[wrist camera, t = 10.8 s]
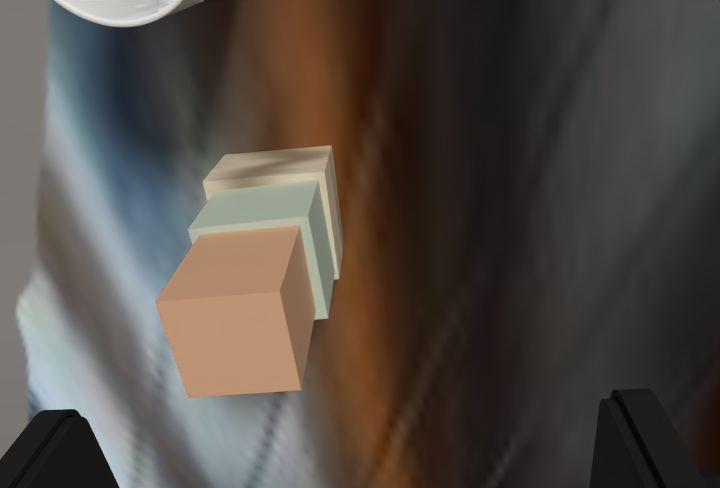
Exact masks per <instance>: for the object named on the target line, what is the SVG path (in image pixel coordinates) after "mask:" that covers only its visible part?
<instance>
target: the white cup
mask: <svg viewBox="0 0 720 488" xmlns="http://www.w3.org/2000/svg"><path fill="white" fill-rule="evenodd" d="M54 1H55V2H57V3H58V4H59V5H61V6H62V7H64V8H65V9H67V10H68V11H70V12H72V13H74V14H75V15H77V16H79V17H81V18H84V19H86V20H89V21H91V22H94V23H98V24H101V25H106V26H112V27H134V26H140V25H144V24H148V23H151V22H153V21H156V20H158V19H161V18H164V17H166V16H169V15H171V14H174V13H177V12H180V11H183V10H185V9H187V8H189V7H191V6H193V5H195V4H198V3H200V2H202V1H204V0H54Z"/></svg>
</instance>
